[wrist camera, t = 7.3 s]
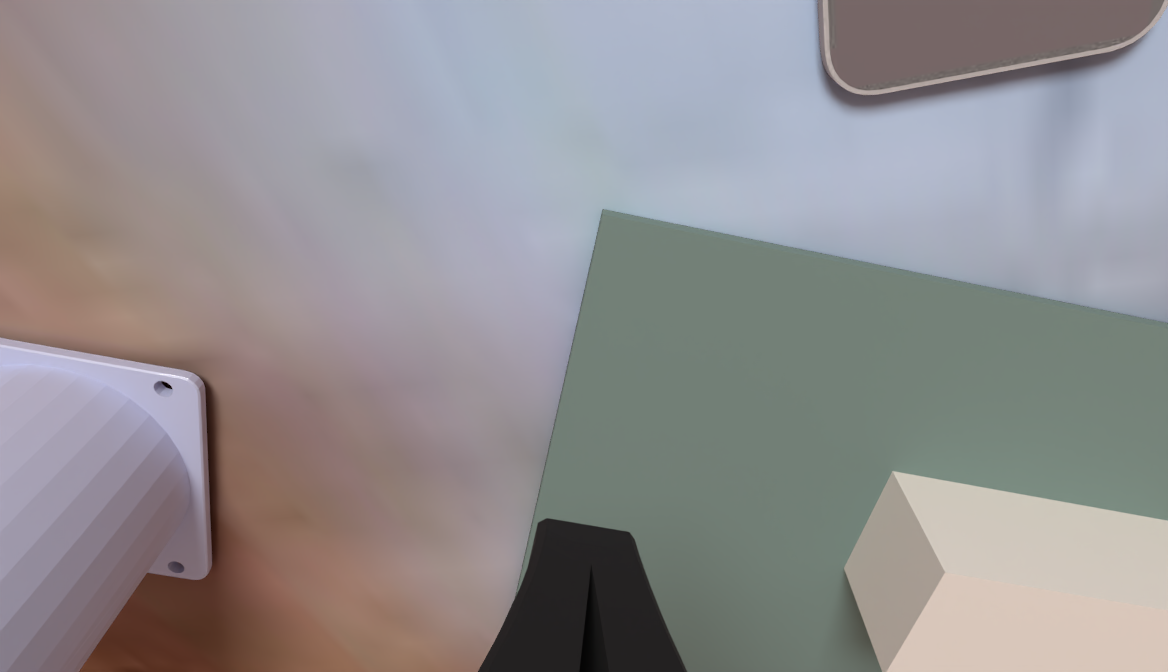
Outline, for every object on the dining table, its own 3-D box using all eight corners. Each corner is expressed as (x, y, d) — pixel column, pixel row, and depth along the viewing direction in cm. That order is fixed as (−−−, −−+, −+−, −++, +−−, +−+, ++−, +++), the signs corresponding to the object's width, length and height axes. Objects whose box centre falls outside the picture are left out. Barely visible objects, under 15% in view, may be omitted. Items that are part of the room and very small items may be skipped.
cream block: (884, 676, 21) (1217, 729, 22) (944, 572, 19) (1307, 634, 20) (843, 568, 25) (1133, 616, 26) (892, 471, 23) (1203, 527, 24)
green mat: (506, 635, 27) (505, 645, 27) (602, 209, 20) (602, 214, 19) (1089, 726, 29) (1095, 736, 29) (1384, 366, 21) (1397, 374, 21)
